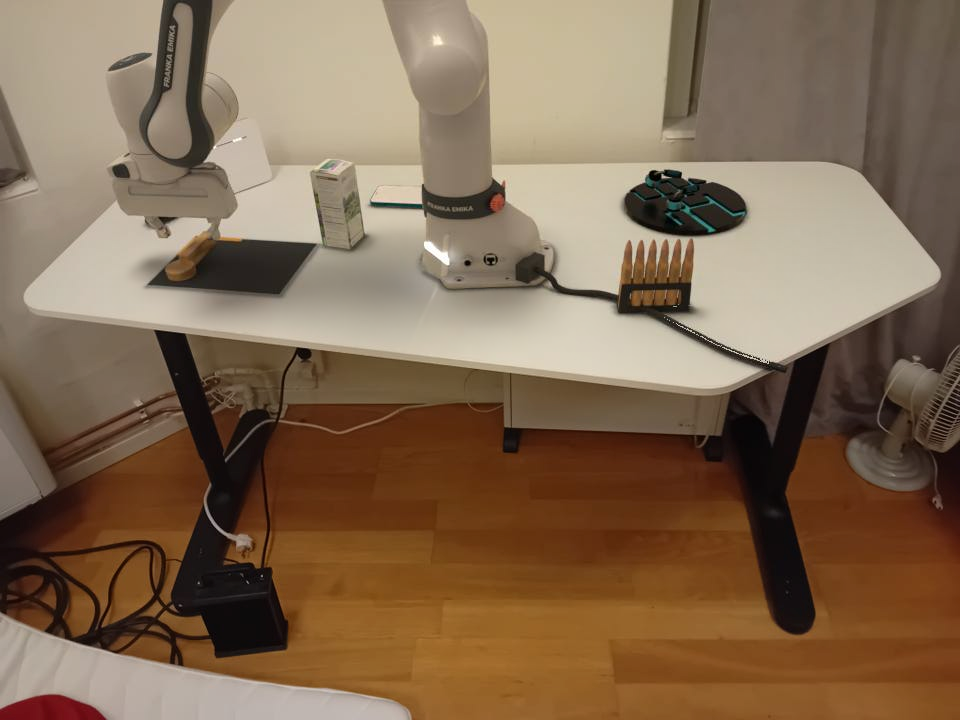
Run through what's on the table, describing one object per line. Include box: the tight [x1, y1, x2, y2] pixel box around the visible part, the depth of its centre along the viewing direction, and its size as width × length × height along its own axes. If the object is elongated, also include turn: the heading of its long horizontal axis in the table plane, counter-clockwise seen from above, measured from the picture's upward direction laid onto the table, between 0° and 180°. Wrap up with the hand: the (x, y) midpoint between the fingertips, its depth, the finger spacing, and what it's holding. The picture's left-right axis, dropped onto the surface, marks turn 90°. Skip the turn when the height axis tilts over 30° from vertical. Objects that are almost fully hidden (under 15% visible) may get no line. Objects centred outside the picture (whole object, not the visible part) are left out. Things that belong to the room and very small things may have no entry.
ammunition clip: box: [616, 237, 695, 314], centre depth 110 cm, size 11×2×12 cm, turn 88°
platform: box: [623, 168, 747, 237], centre depth 138 cm, size 22×22×6 cm
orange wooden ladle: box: [164, 230, 216, 281], centre depth 130 cm, size 13×5×3 cm, turn 168°
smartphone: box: [369, 184, 423, 209], centre depth 148 cm, size 8×1×16 cm
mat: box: [147, 235, 318, 296], centre depth 130 cm, size 24×17×1 cm
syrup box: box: [309, 158, 365, 250], centre depth 131 cm, size 6×6×14 cm
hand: (189, 237), depth 128 cm, fingers open, 8 cm apart
